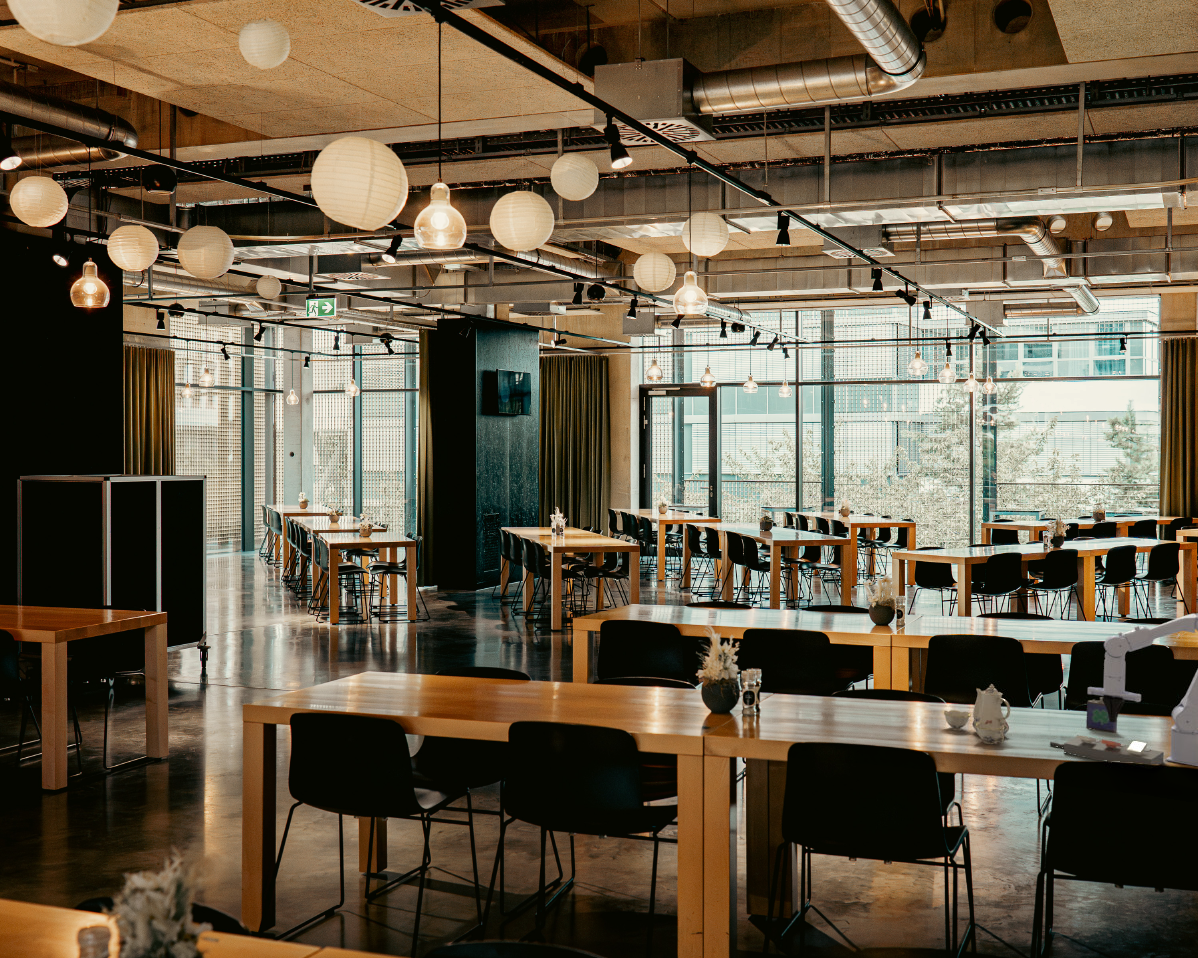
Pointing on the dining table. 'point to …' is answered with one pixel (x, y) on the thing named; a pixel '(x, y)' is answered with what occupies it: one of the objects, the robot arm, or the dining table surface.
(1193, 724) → the robot arm
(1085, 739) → the rocker
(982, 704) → the chinaware
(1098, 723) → the dark blue box
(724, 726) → the dining table surface
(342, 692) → the dining table surface
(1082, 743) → the power strip
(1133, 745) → the rocker
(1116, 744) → the rocker middle
